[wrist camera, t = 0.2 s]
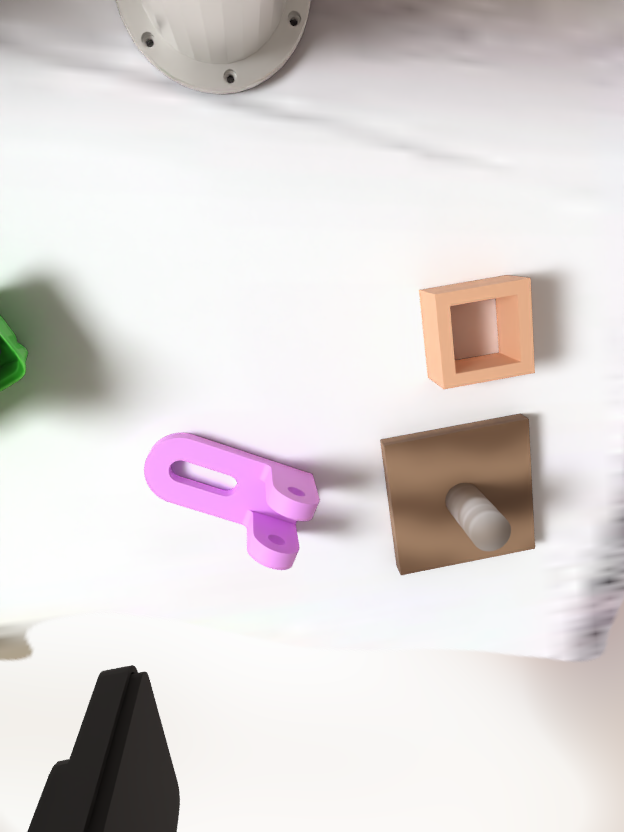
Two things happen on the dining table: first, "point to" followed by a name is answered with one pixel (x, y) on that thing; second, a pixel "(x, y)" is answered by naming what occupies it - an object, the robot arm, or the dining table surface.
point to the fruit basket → (10, 357)
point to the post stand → (460, 493)
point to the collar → (510, 324)
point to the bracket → (238, 493)
